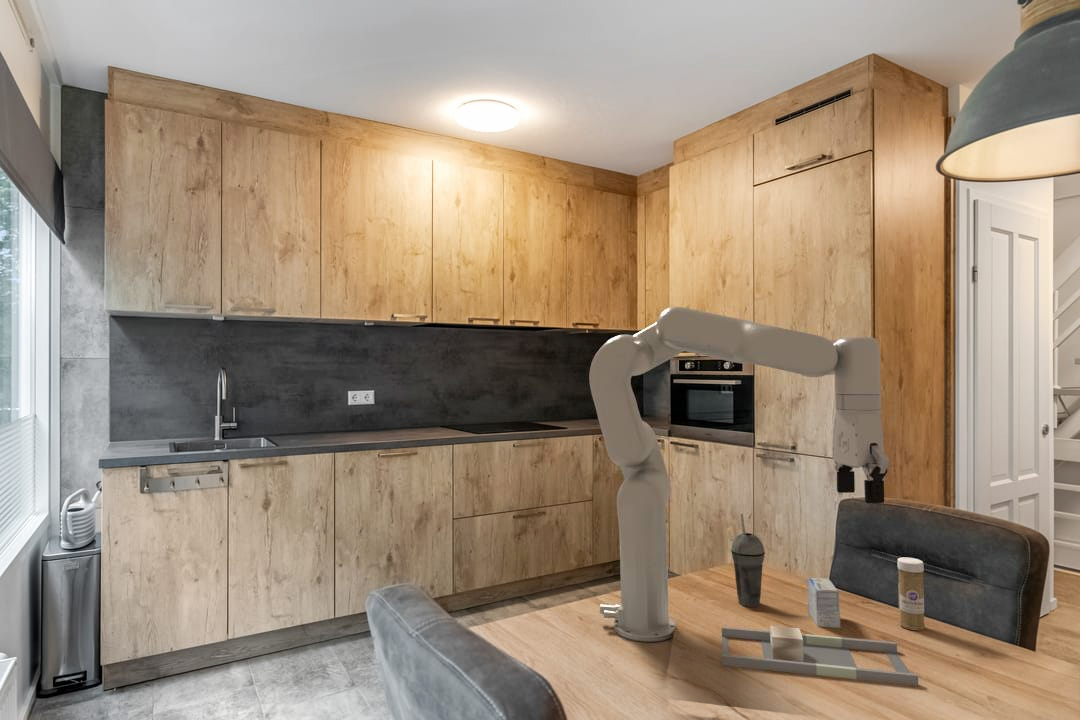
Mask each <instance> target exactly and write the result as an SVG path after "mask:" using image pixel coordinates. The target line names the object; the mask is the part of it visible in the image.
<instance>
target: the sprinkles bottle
mask: <svg viewBox="0 0 1080 720" xmlns="http://www.w3.org/2000/svg"><path fill="white" fill-rule="evenodd" d="M896 565H897V566H896V567H897V571H898V586H897V587H898V609H899V621H898V623H899V626H900V627H902V628H904V629H906V630H911V631H923V630H925V628H926V626H925V594H924V572H925V571H924V570H925V567H924V561H923V560H921V559H919V558H914V557H904V556H903V557H899V558H897V563H896Z"/></svg>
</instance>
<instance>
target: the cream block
mask: <svg viewBox="0 0 1080 720" xmlns="http://www.w3.org/2000/svg"><path fill="white" fill-rule="evenodd" d="M769 631H770V646H771V653H772V658H773V659H777V660H786V661H796V662H804V657H803V638H802V635H801V634H802V632H801V630H800V628H799V627H789V626H780V625H779V626H778V625H769Z"/></svg>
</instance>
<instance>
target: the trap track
mask: <svg viewBox="0 0 1080 720" xmlns="http://www.w3.org/2000/svg"><path fill="white" fill-rule="evenodd" d="M801 635H802V638H803V657H804V662H796V661H786V660H777V659H773V658H772V653H771V646H770V630H765V629H764V630H763V629H753V628H752V629H751V628H742V627H731V626H721V651H722V653H721V654H722V655H721V656H722V657H721V658H722V661H721V662H722V666H728V667H739V668H746V669H754V670H755V669H757V670H765V671H766V670H767V671H776V672H786V673H792V674H793V673H795V674H801V675H802V674H803V675H811V676H812V675H814V676H824V677H831V678H839V679H840V678H842V679H849V680H860V681H870V682H879V683H880V682H881V683H889V684H898V685H906V686H914V687H915V686H916V687H918V686H919V675H918V674H917V673H913V672H910V670H909V669H908V668H907V666H906V664H905V663H904V661H903V660H902V658H901V656H900V655H899V653H898V644H897V642H895V641H887V640H886V641H885V640H875V639H866V638H865V639H864V638H863V639H862V638H852V637H841V636H830V635H819V634H808V633H801ZM728 638H734V639H747V640H756V641H757V640H758V641H760V644H761V651H762V657H754V656H745V655H737V654H736V655H735V654H729V647H728V646H729V645H728V644H729V641H728ZM850 649H851V650H852V649H853V650H862V651H873V652H874V651H875V652H882V653H883V652H884V653H885V654H886V657H887V658H888V660H889V662H890V663H891V665H892V667H893V668H894V669H895V671H892V670H884V669H883V670H882V669H873V668H863V667H858V666H857V664H856V663H855V660H854V657H853V656H852V654H851V651H850Z"/></svg>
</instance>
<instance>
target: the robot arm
mask: <svg viewBox="0 0 1080 720" xmlns="http://www.w3.org/2000/svg"><path fill="white" fill-rule="evenodd" d="M880 347H881V346H880V343H879V341H878V339H876V338H874V337H867V336H865V337H861V336H860V337H859V336H857V337H853V336H852V337H844V338H843V337H842V338H840V339H837V340H834V339H832V340H831V339H828V338H826V337H824V336H822V335H817V334H813V333H808V332H802V331H798V330H793V329H788V328H783V327H779V326H773V325H767V324H763V323H759V322H755V321H751V320H747V319H746V320H745V319H741V318H737V317H731V316H728V315H727V316H726V315H722V314H718V313H713V312H707V311H702V310H698V309H693V308H687V307H682V306H670V307H668V308H666V309H664V310H663V311H661V313H660V314H659V315H658V318H657V320H656V322H655V323H653V324H652V325H649V326H648V327H646V328H645V329H642V330H641V331H639V332H636V333H635V334H619V335H616V336H614V337H611V338H610V339H608V340H607V341H606V342H605V343H604V344H603V345H602V346H601V347H600V348H599V349H598V351H597V352H596V353H595V355H594V357H593V358H592V361H591V364H590V368H589V378H588V379H589V387H590V392H591V393H590V394H591V397H592V400H593V402H594V403H593V405H594V407H595V411H596V415H597V419H598V422H599V423H598V424H599V426H600V431H601V434H602V437H603V441H604V445H605V449H606V453H607V455H608V457H609V459H610V460H611V462H613V463H614V464H615V465H616V466H619V467H620V469H621V471H622V475H623V478H624V481H623V482H622V483H621V485H620V486H619V489H618V492H617V495H616V512H617V518H618V533H619V535H618V536H619V537H618V538H619V560H620V561H619V564H620V567H619V568H620V569H619V570H620V571H619V572H620V603H615V605H612V604H611V605H610V604H604V603H600V605H599V606H600V607H599V613H600V615H603V618H604V619H605V618H607V619H614V620H613V629H614V631H615V633H617V634H618V635H619V636H621V637H622V638H625V639H628V640H632V641H635V642H636V641H638V642H648V643H649V642H651V643H652V642H661V641H666V640H668V639H671V638H672V637H674V633H675V627H676V622H675V620H673V619H672V618H670V616H669V581H668V580H669V576H668V572H669V570H668V569H669V568H668V565H669V564H668V537H667V535H668V534H667V520H666V518H667V517H666V508H667V507H666V506H667V503H668V502H669V500H670V496H671V493H672V492H671V491H672V488H671V487H672V486H671V481H670V478H669V475H668V471H667V467H666V465H665V461H664V458H663V454H662V451H661V447H660V443H659V441H658V437H657V435H656V433H655V431H654V430H653V428H652V426H650V425H649V423H647V422H645V421H644V420H643V419H642V417H641V414H640V411H639V410H640V409H639V408H638V407H639V406H638V402H637V399H636V397H635V394H634V390H633V388H632V384H631V382H632V381H631V380H632V377H634V376H635V377H636V376H640V375H643V374H645V373H646V372H649V371H650V370H652V369H655V368H656V367H658V366H659V365H662V364H663V363H665V362H667V361H669V360H670V359H673V358H675V357H677V356H678V355H680V354H681V353H683V352H688V353H691V354H692V353H693V354H696V355H701V356H706V357H710V358H713V359H718V360H723V361H727V362H732V363H736V364H745V365H746V364H751V365H757V366H762V367H767V368H772V369H777V370H781V371H784V372H789V373H794V374H797V375H798V374H799V375H801V376H803V377H807V378H821V377H825V376H831V375H834V393H835V394H834V396H835V397H834V398H835V400H834V402H835V405H834V406H835V410H834V411H835V413H834V418H833V419H834V420H833V428H832V450H831V452H832V460H833V461H834V463H835V467H834V468H835V471H836V491H837V493H840V494H841V493H842V494H844V493H846V494H847V493H850V494H851V493H855V491H856V490H855V489H856V488H855V482H856V481H855V480H856V479H855V471H853V468H855V469H859V468H862V471H863V473H864V475H865V479H864V480H863V481H864V484H863V485H864V502H865V503H867V504H884V502H885V481H886V478H887V477H886V476H887V473H888V466H889V463H890V457H889V456H888V455H886V453H885V448H884V447H885V446H884V444H885V443H884V434H883V424H882V419H881V413H882V400H881V399H882V398H881V397H882V395H881V393H882V392H881V391H882V389H881V388H882V387H881V384H882V383H881V348H880ZM871 470H872V471H871Z"/></svg>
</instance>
